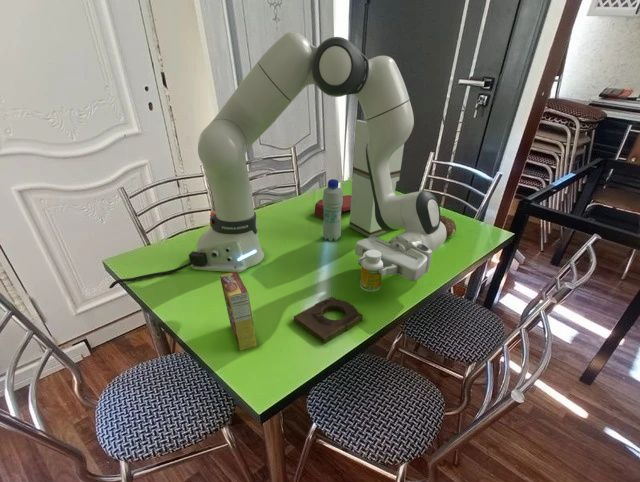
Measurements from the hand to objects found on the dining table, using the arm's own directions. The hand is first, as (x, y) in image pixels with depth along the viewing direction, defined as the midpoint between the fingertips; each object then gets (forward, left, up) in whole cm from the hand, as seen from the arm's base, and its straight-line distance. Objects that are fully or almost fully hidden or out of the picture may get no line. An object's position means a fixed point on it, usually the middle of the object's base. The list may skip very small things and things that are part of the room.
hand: (369, 267), depth 92 cm
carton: (+1, +63, -10) cm, 64 cm away
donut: (+31, +40, -10) cm, 51 cm away
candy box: (-32, -13, -10) cm, 36 cm away
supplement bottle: (+1, +1, -6) cm, 6 cm away
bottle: (-6, +38, -10) cm, 39 cm away
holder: (-11, -9, -10) cm, 17 cm away
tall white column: (+9, +45, -10) cm, 47 cm away
